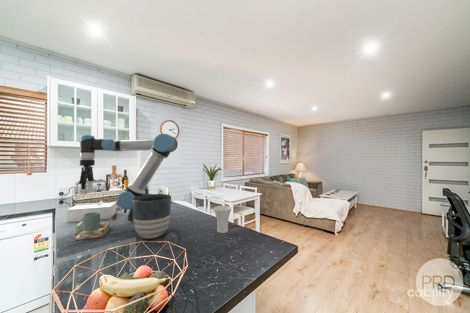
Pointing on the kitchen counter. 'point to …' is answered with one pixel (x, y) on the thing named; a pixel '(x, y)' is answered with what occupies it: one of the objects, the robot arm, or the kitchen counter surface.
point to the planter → (151, 214)
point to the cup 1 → (91, 221)
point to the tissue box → (91, 210)
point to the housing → (94, 232)
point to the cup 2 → (222, 218)
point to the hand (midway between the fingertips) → (87, 192)
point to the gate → (79, 227)
